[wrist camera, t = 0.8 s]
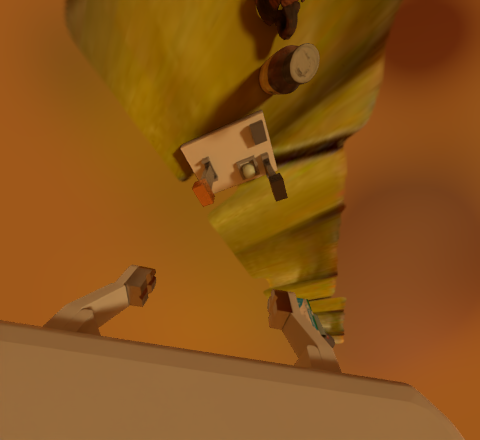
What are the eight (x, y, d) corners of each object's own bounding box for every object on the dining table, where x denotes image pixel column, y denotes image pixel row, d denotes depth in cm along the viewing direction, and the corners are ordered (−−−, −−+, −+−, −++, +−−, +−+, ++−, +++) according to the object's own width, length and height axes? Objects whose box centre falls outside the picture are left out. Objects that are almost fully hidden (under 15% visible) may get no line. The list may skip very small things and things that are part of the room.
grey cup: (300, 316, 112) (306, 337, 103) (314, 311, 109) (322, 333, 99) (307, 321, 117) (314, 342, 108) (321, 317, 114) (329, 337, 104)
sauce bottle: (262, 99, 41) (282, 104, 25) (254, 66, 37) (270, 49, 22) (289, 85, 40) (328, 82, 24) (283, 51, 36) (323, 20, 20)
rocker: (248, 124, 40) (249, 127, 38) (261, 119, 39) (262, 121, 38) (254, 142, 43) (255, 145, 42) (265, 138, 42) (267, 140, 41)
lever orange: (202, 162, 45) (192, 188, 33) (211, 158, 45) (203, 184, 33) (210, 176, 48) (202, 206, 36) (218, 173, 47) (213, 203, 35)
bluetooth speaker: (331, 331, 130) (338, 347, 122) (320, 335, 134) (326, 351, 126) (316, 323, 120) (322, 339, 112) (304, 327, 123) (310, 344, 115)
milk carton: (307, 299, 99) (326, 352, 79) (300, 306, 104) (316, 358, 84) (293, 297, 97) (309, 351, 77) (286, 305, 102) (300, 357, 82)
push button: (241, 165, 45) (241, 169, 43) (251, 161, 45) (253, 165, 42) (244, 175, 47) (245, 180, 45) (255, 171, 47) (256, 176, 44)
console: (182, 144, 46) (176, 150, 41) (261, 109, 42) (265, 112, 37) (208, 190, 55) (206, 200, 50) (275, 165, 51) (280, 174, 46)
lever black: (260, 158, 45) (270, 183, 33) (269, 154, 45) (283, 178, 33) (264, 173, 48) (276, 201, 35) (273, 169, 47) (287, 197, 35)
